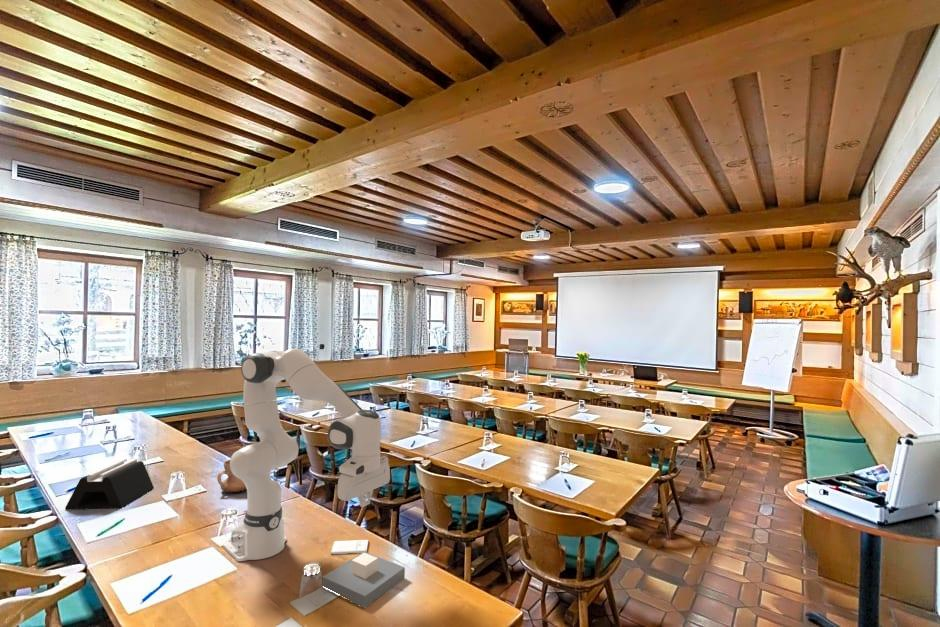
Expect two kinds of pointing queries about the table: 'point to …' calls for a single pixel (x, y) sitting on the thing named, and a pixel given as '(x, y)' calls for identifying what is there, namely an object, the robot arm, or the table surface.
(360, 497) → the robot arm
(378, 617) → the table surface
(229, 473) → the ceramic jug
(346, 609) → the table surface
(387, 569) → the socket
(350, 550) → the external hard drive
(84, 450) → the table surface
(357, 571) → the cream white block
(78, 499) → the device stand
